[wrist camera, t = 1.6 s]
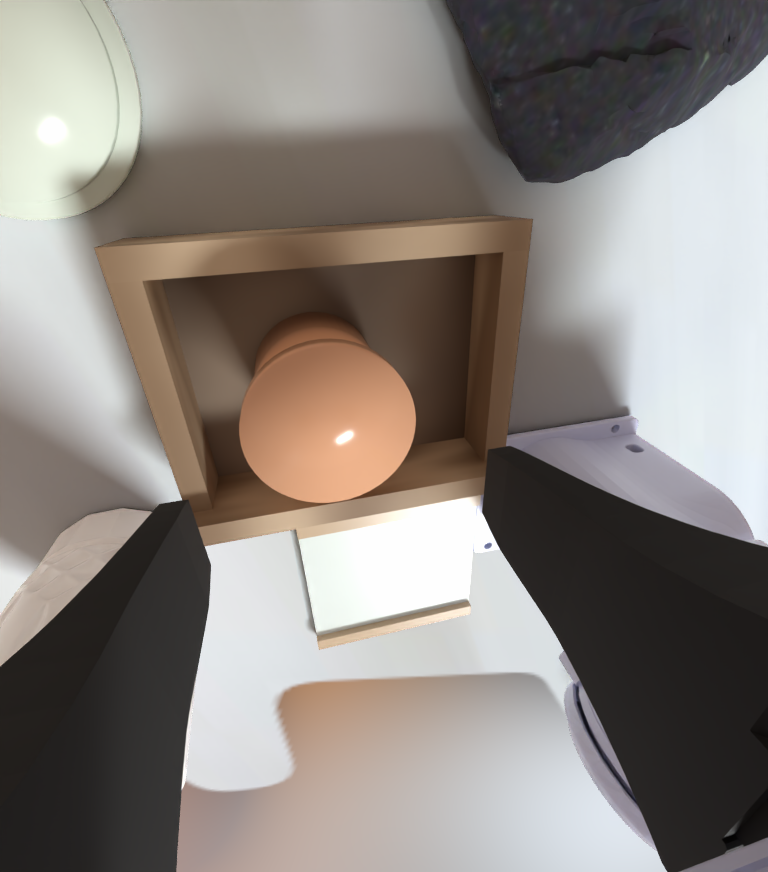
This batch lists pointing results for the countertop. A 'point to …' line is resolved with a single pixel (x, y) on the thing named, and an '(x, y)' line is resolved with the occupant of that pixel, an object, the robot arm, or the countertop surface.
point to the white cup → (69, 580)
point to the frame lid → (389, 570)
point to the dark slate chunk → (603, 71)
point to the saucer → (64, 108)
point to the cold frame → (341, 296)
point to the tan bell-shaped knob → (324, 411)
